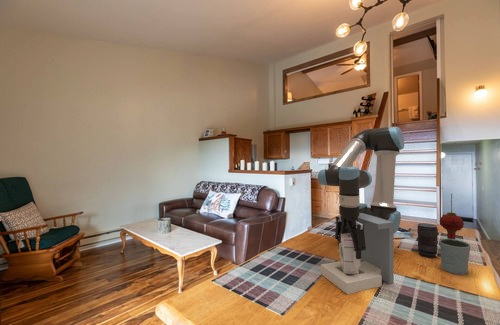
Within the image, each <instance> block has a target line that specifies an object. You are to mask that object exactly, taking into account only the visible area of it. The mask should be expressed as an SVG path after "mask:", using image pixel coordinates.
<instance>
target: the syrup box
mask: <svg viewBox="0 0 500 325" xmlns="http://www.w3.org/2000/svg"><path fill="white" fill-rule="evenodd" d="M354 249H355V247H354V244H353V240H352V236H351V233H344V234H341V259H340V261H341V267H342V270H343V273H344V274H346V275H352V274H355V275H357V274H359V267H353V250H354Z"/></svg>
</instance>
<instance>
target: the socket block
mask: <svg viewBox="0 0 500 325" xmlns="http://www.w3.org/2000/svg"><path fill="white" fill-rule="evenodd" d="M358 221H359V223H361V224H364V225H365V227H364V235H365V244H366V250H363V251H361V259H360V267H359V274H357V275H355V274H351V275H348V274H344V273H343V270H342V267H341V260H338V261H334V262H328V263H321V264H320V275H321V276H323V277H324V278H326V279H327V280H328V281H330V282H331V283H332V284H333V285H335V287H337V288H338V289H340V290H341V291H342V292H344V293H345V294H347V295H350V294H355V293H358V292H362V291H367V290H370V289H376V288H379V287H382V286H383V285H382V284H383V283H382V281H384V282H385V283H387V284H389V285H391V284H394V283H395V281H394V267H395V266H394V263H395V262H394V259H395V258H394V257H395V256H394V249H395V248H394V240H395V239H394V234H395V233H394V226H393V222H392V221H388V220H385V219H381V218H378V217H374V216H371V215H367V214H364V213H360V215H359V216H358Z"/></svg>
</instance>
